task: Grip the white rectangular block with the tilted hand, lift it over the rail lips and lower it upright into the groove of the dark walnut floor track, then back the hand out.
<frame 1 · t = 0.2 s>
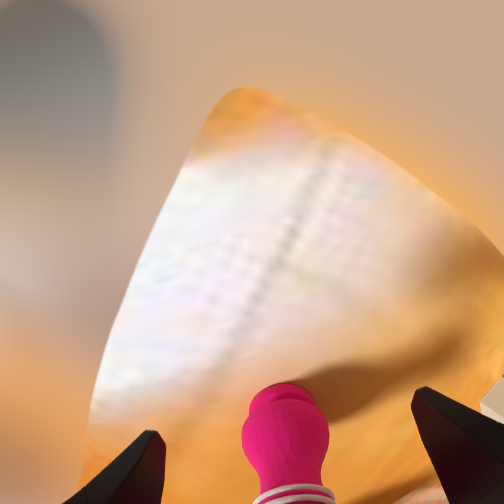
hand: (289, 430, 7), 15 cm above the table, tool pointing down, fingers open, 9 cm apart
pepper mill: (281, 408, 23), on the table
white rectangular block: (492, 396, 22), on the table
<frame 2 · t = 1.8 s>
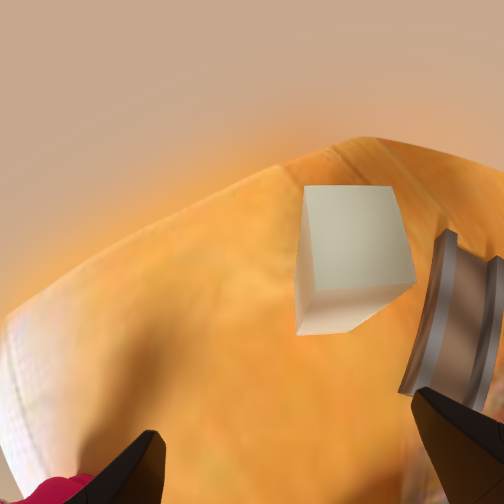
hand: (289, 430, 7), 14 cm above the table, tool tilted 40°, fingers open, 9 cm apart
pepper mill: (96, 497, 15), on the table
white rectangular block: (320, 305, 23), on the table
floor track: (457, 324, 20), on the table
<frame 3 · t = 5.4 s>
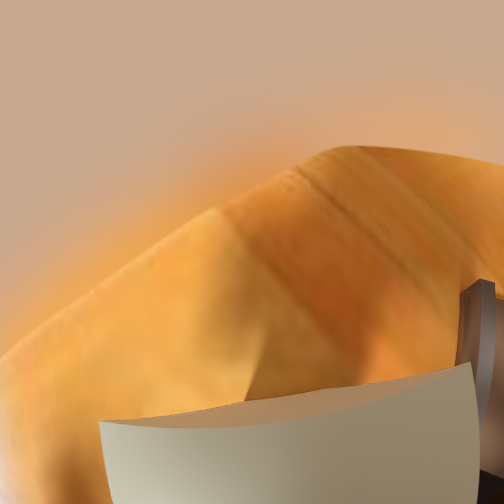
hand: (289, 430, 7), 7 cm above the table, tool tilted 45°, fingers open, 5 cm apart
white rectangular block: (289, 436, 12), on the table, touching gripper
floor track: (491, 407, 10), on the table
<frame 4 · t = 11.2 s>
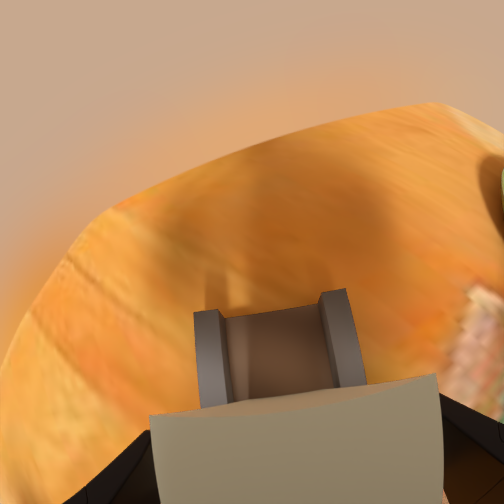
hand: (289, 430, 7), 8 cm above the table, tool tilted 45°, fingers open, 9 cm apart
white rectangular block: (290, 433, 13), point 1 cm above the table, touching floor track
floor track: (289, 432, 14), on the table
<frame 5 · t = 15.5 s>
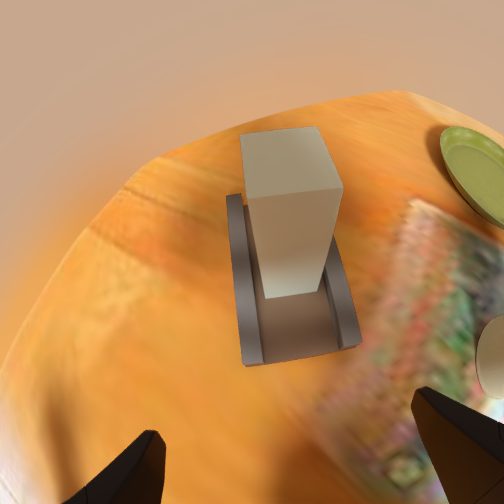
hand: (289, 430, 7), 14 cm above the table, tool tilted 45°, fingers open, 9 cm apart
white rectangular block: (287, 269, 24), point 1 cm above the table, touching floor track
saucer: (486, 186, 28), on the table
floor track: (286, 272, 25), on the table
can: (501, 357, 17), on the table
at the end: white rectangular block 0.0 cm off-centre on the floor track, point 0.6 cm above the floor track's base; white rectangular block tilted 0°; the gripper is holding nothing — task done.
